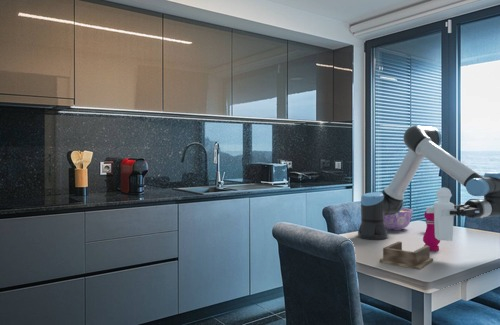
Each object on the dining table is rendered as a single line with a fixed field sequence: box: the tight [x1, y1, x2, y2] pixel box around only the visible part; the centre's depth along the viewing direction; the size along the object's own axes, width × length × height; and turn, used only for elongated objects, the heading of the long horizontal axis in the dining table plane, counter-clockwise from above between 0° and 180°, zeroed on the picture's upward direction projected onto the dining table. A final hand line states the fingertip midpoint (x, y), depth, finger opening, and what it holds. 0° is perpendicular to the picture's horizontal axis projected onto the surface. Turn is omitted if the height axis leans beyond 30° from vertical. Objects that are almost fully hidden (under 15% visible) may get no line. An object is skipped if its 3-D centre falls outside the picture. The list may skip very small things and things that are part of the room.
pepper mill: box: [422, 211, 441, 252], centre depth 182 cm, size 7×7×20 cm
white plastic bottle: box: [433, 186, 455, 242], centre depth 166 cm, size 6×6×22 cm
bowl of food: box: [384, 207, 414, 231], centre depth 233 cm, size 20×20×12 cm
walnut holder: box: [379, 241, 434, 270], centre depth 162 cm, size 16×16×6 cm
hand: (434, 211), depth 165 cm, fingers closed on white plastic bottle, 8 cm apart
